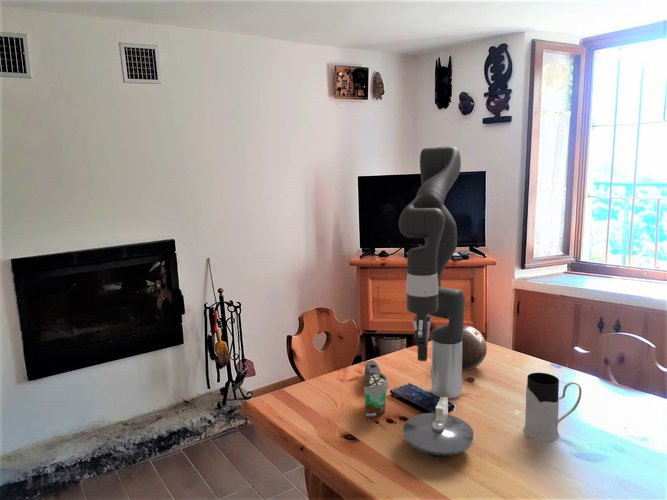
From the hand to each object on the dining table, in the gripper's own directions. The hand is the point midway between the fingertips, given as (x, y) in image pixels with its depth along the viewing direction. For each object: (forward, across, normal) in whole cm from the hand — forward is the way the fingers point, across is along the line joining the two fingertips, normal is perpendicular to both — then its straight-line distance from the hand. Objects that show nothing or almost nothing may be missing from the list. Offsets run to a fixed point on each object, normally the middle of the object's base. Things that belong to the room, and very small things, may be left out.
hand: (422, 359), depth 120 cm
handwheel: (+19, 0, -4) cm, 20 cm away
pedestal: (+23, 0, -4) cm, 23 cm away
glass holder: (+23, +13, -32) cm, 42 cm away
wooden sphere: (+23, +52, -10) cm, 58 cm away
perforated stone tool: (+23, +34, +19) cm, 46 cm away
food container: (+23, +15, +14) cm, 31 cm away
